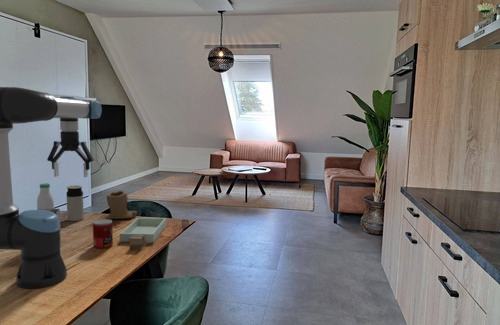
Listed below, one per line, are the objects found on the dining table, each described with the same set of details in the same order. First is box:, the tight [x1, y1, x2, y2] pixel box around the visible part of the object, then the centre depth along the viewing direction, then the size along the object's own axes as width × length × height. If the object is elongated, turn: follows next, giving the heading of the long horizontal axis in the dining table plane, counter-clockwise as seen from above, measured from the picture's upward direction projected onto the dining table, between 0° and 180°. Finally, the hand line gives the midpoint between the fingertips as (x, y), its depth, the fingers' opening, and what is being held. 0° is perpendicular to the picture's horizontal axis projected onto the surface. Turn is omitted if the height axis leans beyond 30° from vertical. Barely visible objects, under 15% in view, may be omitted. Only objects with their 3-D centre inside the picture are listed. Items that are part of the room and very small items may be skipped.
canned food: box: [92, 218, 114, 250], centre depth 160 cm, size 8×8×11 cm
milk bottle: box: [36, 183, 55, 210], centre depth 193 cm, size 8×8×20 cm
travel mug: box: [65, 184, 85, 222], centre depth 198 cm, size 8×8×18 cm
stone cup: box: [106, 190, 138, 220], centre depth 202 cm, size 15×12×15 cm
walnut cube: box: [128, 235, 146, 251], centre depth 159 cm, size 5×5×5 cm
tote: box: [119, 217, 168, 244], centre depth 178 cm, size 26×15×4 cm, turn 0°
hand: (71, 176), depth 172 cm, fingers open, 13 cm apart
